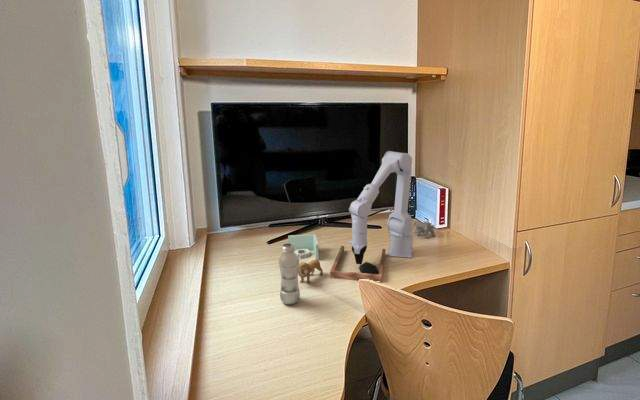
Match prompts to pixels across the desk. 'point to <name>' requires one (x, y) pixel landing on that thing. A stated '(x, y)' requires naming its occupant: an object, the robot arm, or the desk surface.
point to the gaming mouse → (368, 268)
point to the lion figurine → (308, 270)
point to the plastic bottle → (289, 275)
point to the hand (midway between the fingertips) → (359, 263)
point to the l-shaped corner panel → (304, 245)
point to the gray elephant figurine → (424, 228)
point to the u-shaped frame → (353, 274)
